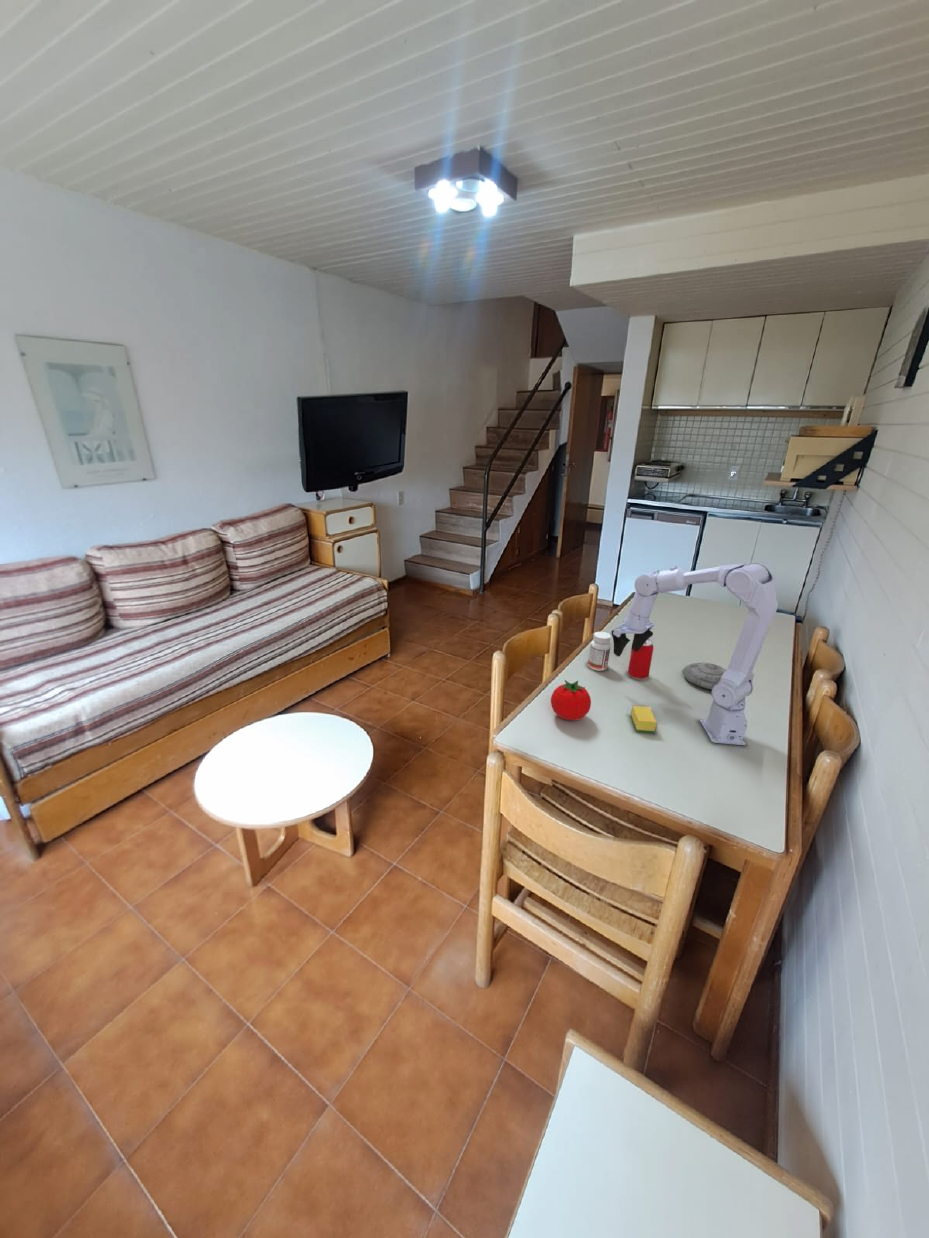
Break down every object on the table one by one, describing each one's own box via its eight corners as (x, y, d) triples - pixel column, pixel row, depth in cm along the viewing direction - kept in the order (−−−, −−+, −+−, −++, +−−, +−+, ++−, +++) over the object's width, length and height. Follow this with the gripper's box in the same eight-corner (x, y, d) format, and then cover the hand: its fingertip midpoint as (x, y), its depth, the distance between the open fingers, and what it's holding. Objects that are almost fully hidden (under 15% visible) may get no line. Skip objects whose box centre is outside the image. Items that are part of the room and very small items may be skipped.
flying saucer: (672, 678, 153) (675, 662, 151) (695, 664, 162) (699, 650, 160) (720, 699, 142) (725, 683, 140) (742, 683, 151) (747, 668, 149)
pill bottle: (601, 661, 162) (606, 630, 157) (610, 670, 156) (616, 638, 152) (584, 662, 160) (588, 631, 156) (592, 672, 155) (597, 639, 150)
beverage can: (645, 671, 156) (651, 637, 151) (650, 681, 150) (656, 646, 145) (625, 669, 157) (630, 636, 152) (629, 680, 151) (635, 645, 146)
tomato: (594, 727, 128) (600, 693, 124) (555, 729, 126) (560, 695, 122) (580, 704, 137) (585, 673, 133) (544, 706, 136) (547, 675, 132)
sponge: (654, 733, 126) (656, 722, 125) (636, 732, 126) (638, 720, 125) (647, 718, 132) (649, 707, 131) (630, 716, 133) (632, 705, 131)
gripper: (646, 602, 145) (632, 641, 152) (611, 609, 138) (598, 649, 145) (665, 614, 140) (650, 653, 147) (629, 621, 133) (615, 662, 140)
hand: (625, 652), depth 145 cm, fingers open, 7 cm apart
